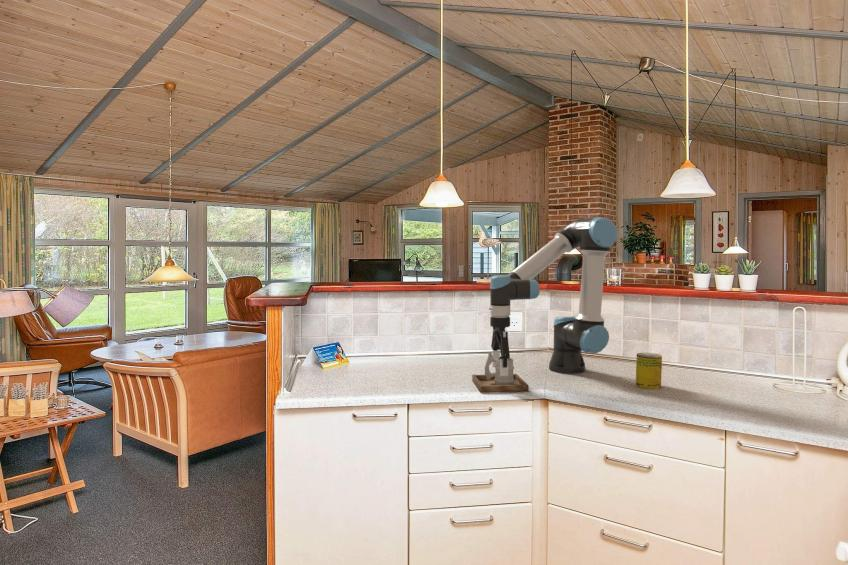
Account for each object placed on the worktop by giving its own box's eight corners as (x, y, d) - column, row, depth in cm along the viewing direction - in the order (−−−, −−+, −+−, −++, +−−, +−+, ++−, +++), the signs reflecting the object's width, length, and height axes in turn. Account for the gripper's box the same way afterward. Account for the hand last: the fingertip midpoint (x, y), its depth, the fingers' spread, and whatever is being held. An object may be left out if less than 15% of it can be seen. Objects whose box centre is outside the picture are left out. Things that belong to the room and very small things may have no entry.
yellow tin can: (661, 390, 207) (662, 358, 206) (635, 387, 210) (636, 356, 209) (660, 384, 215) (661, 353, 214) (635, 381, 218) (636, 351, 217)
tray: (516, 379, 222) (516, 373, 221) (528, 391, 205) (528, 385, 205) (472, 380, 220) (472, 374, 220) (480, 392, 203) (480, 386, 203)
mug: (512, 388, 208) (512, 356, 206) (481, 384, 212) (481, 353, 211) (516, 382, 215) (516, 352, 214) (486, 380, 219) (487, 350, 218)
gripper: (483, 311, 222) (483, 363, 224) (497, 321, 197) (497, 379, 199) (502, 311, 223) (502, 363, 225) (518, 321, 198) (518, 379, 200)
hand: (500, 371), depth 212 cm, fingers open, 13 cm apart
